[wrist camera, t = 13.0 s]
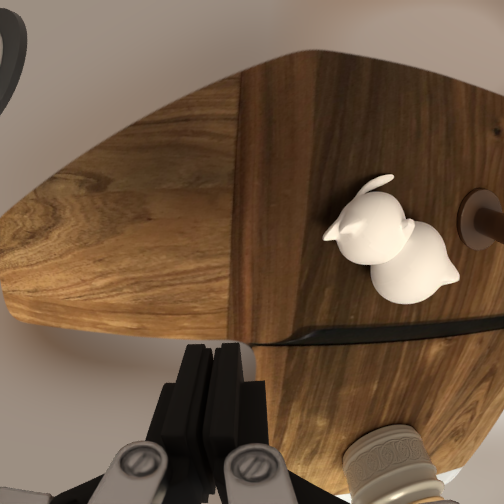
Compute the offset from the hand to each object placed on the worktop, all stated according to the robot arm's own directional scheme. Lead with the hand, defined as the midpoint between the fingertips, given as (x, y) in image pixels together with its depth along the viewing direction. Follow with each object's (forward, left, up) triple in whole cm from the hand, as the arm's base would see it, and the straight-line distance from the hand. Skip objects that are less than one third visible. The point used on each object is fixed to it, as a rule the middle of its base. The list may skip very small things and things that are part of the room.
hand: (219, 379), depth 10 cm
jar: (+40, -3, -21) cm, 46 cm away
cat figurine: (+8, +12, -21) cm, 26 cm away
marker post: (+14, +23, -21) cm, 34 cm away
